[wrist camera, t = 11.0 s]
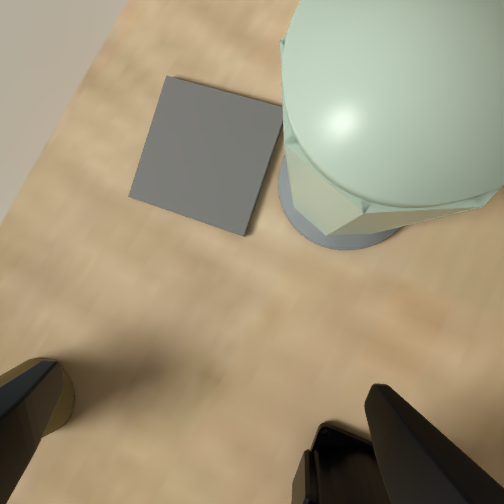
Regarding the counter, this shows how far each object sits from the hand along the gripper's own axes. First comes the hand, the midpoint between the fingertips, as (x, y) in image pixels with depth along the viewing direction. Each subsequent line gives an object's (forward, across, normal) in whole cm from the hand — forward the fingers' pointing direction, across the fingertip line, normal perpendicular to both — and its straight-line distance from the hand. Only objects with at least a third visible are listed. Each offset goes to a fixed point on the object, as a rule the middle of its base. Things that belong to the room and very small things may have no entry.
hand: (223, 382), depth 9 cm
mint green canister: (+13, -7, -4) cm, 16 cm away
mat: (+17, +2, -4) cm, 17 cm away
